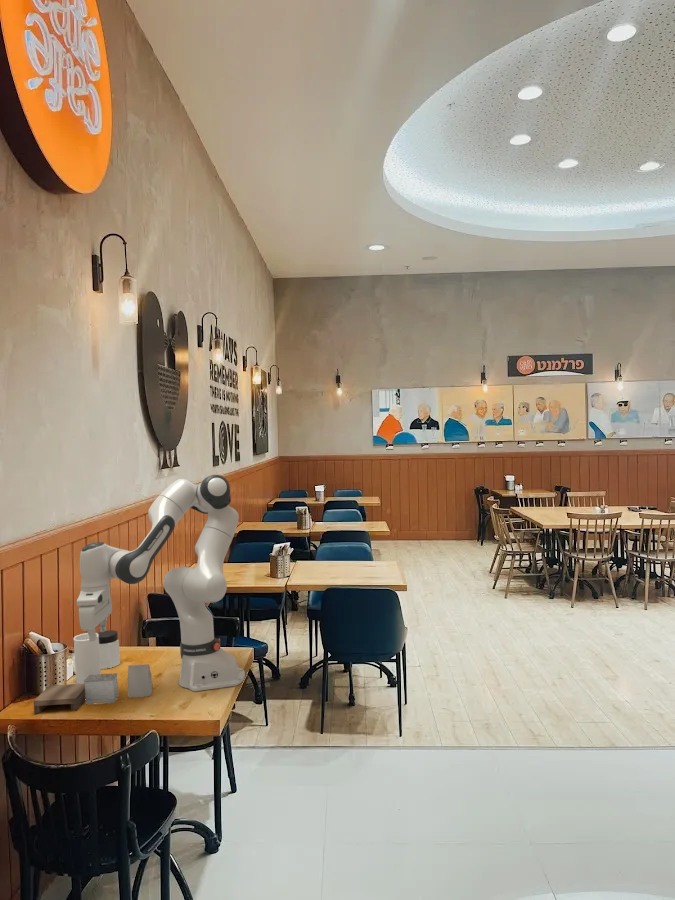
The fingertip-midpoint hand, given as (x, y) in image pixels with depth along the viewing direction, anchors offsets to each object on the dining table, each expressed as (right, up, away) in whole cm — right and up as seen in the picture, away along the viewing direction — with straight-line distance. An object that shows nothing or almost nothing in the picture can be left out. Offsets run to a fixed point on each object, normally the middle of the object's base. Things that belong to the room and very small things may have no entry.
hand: (98, 635), depth 207 cm
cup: (-10, -22, +18) cm, 30 cm away
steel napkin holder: (+1, -21, +1) cm, 22 cm away
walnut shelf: (-11, -22, 0) cm, 25 cm away
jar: (-9, -21, +33) cm, 40 cm away
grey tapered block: (+12, -21, +4) cm, 25 cm away
